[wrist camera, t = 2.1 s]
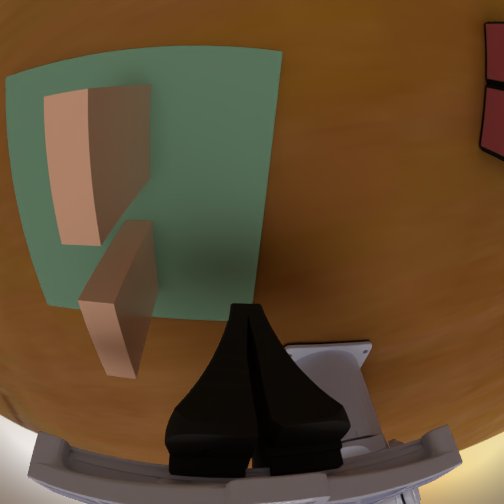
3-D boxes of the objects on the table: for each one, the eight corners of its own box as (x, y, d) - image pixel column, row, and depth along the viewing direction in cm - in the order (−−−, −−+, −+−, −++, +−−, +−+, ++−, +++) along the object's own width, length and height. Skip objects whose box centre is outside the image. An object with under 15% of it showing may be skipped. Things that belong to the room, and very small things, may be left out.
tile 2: (158, 290, 19) (136, 379, 13) (133, 288, 18) (104, 374, 13) (152, 220, 16) (113, 303, 10) (123, 219, 16) (74, 299, 10)
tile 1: (150, 178, 15) (100, 246, 9) (119, 178, 15) (58, 244, 9) (151, 84, 12) (87, 88, 6) (118, 86, 12) (40, 97, 6)
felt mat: (249, 315, 21) (250, 321, 21) (50, 300, 19) (47, 304, 19) (280, 53, 12) (282, 51, 12) (11, 76, 11) (6, 77, 10)
